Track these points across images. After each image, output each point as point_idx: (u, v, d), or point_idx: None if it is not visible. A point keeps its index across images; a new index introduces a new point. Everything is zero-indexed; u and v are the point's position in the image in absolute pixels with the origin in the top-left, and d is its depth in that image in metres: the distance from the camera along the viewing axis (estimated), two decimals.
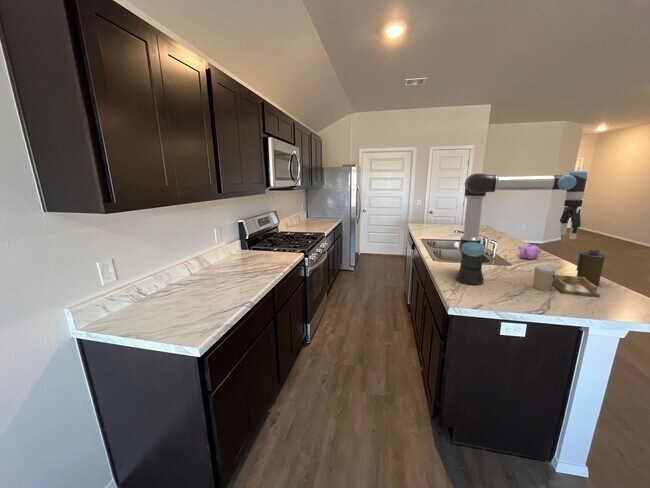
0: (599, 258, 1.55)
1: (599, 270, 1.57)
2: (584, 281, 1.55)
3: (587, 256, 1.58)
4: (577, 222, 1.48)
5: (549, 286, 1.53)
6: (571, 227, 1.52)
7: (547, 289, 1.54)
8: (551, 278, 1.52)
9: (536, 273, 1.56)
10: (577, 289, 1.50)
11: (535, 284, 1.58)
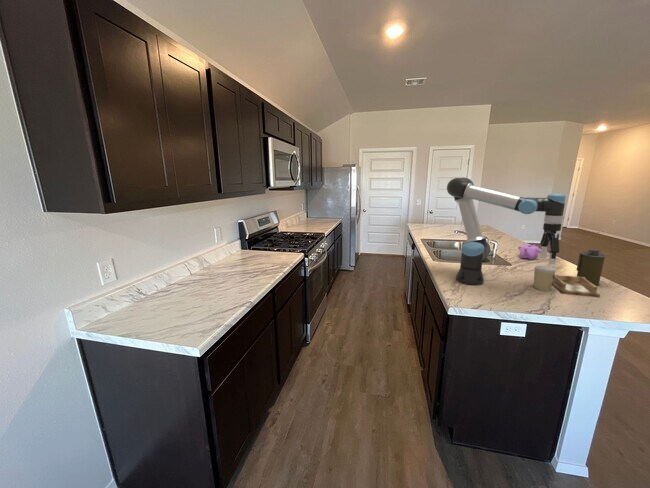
0: (599, 258, 1.55)
1: (599, 270, 1.57)
2: (584, 281, 1.55)
3: (587, 256, 1.58)
4: (556, 247, 1.43)
5: (549, 286, 1.53)
6: (550, 252, 1.47)
7: (547, 289, 1.54)
8: (551, 278, 1.52)
9: (536, 273, 1.56)
10: (577, 289, 1.50)
11: (535, 284, 1.58)
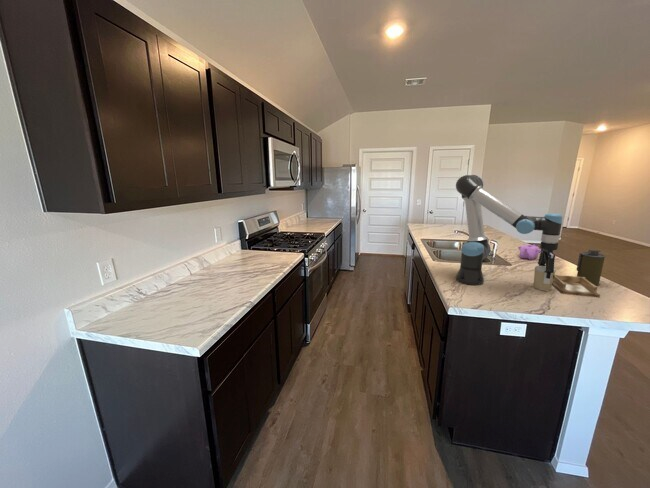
0: (599, 258, 1.55)
1: (599, 270, 1.57)
2: (584, 281, 1.55)
3: (587, 256, 1.58)
4: (550, 268, 1.47)
5: (549, 286, 1.53)
6: (545, 272, 1.51)
7: (547, 289, 1.54)
8: (551, 278, 1.52)
9: (536, 273, 1.56)
10: (577, 289, 1.50)
11: (535, 284, 1.58)
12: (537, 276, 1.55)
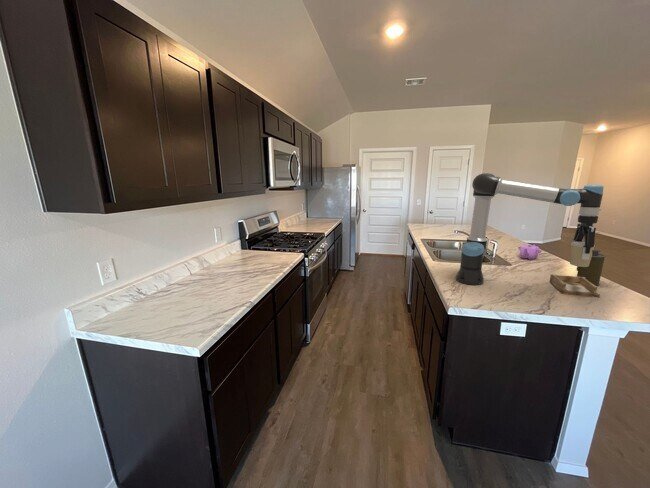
0: (599, 258, 1.55)
1: (599, 270, 1.57)
2: (584, 281, 1.55)
3: None
4: (591, 242, 1.39)
5: (588, 262, 1.45)
6: (584, 247, 1.43)
7: (585, 265, 1.46)
8: (590, 253, 1.44)
9: (573, 249, 1.48)
10: (577, 289, 1.50)
11: (571, 261, 1.50)
12: (574, 252, 1.47)
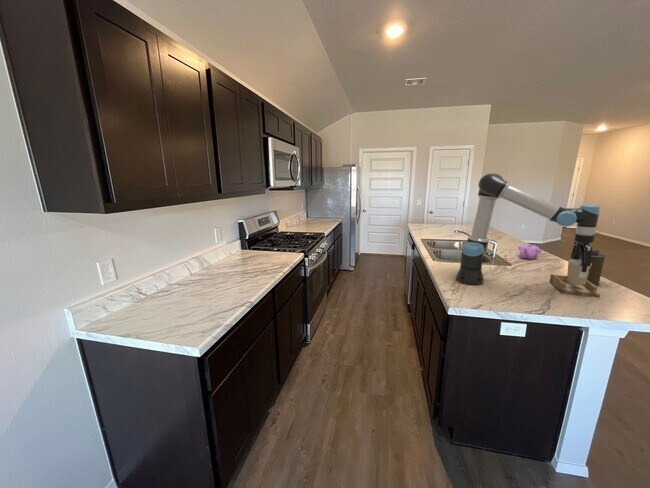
0: (599, 258, 1.55)
1: (599, 270, 1.57)
2: None
3: None
4: (587, 261, 1.42)
5: (584, 280, 1.48)
6: (580, 265, 1.45)
7: (582, 283, 1.48)
8: (587, 272, 1.46)
9: (570, 267, 1.50)
10: (577, 289, 1.50)
11: (568, 278, 1.52)
12: (571, 270, 1.49)
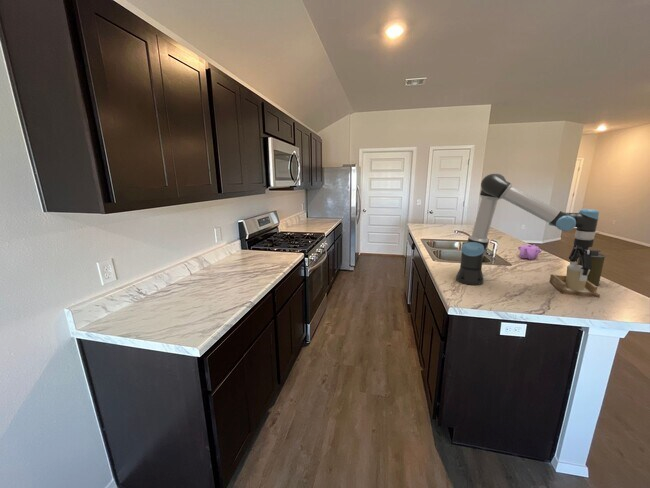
0: (599, 258, 1.55)
1: (599, 270, 1.57)
2: None
3: None
4: (588, 264, 1.41)
5: (583, 286, 1.48)
6: (581, 268, 1.44)
7: (581, 289, 1.49)
8: None
9: (569, 272, 1.51)
10: None
11: (567, 284, 1.53)
12: (570, 275, 1.50)
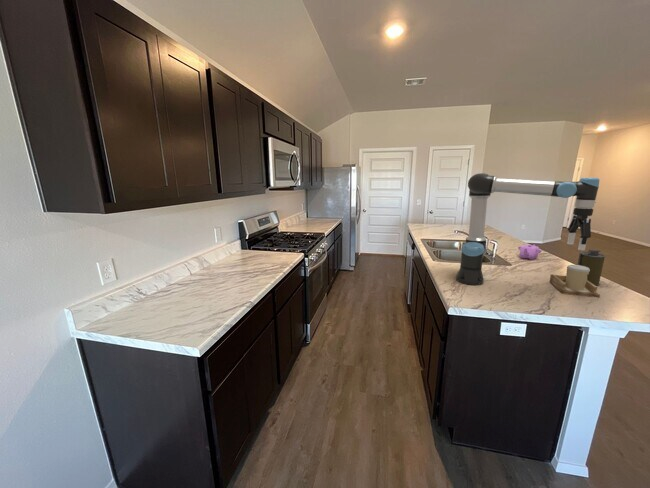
0: (599, 258, 1.55)
1: (599, 270, 1.57)
2: None
3: (587, 256, 1.58)
4: (587, 232, 1.39)
5: (583, 286, 1.48)
6: (580, 237, 1.42)
7: (581, 289, 1.49)
8: (585, 277, 1.47)
9: (569, 272, 1.51)
10: None
11: (567, 284, 1.53)
12: (570, 275, 1.50)
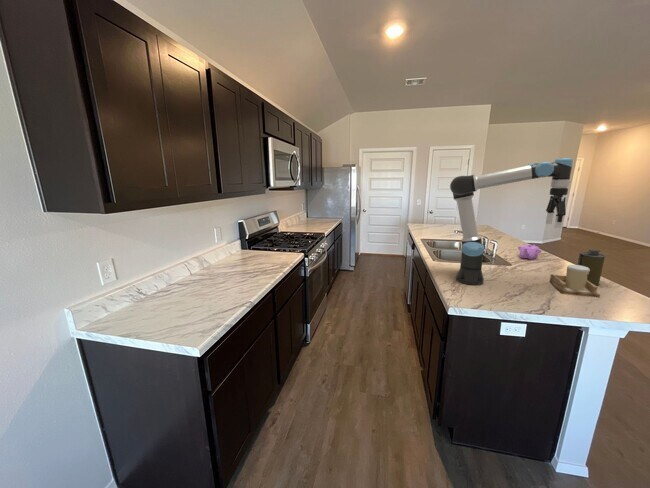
0: (599, 258, 1.55)
1: (599, 270, 1.57)
2: None
3: (587, 256, 1.58)
4: (562, 210, 1.45)
5: (583, 286, 1.48)
6: (556, 216, 1.49)
7: (581, 289, 1.49)
8: (585, 277, 1.47)
9: (569, 272, 1.51)
10: None
11: (567, 284, 1.53)
12: (570, 275, 1.50)
